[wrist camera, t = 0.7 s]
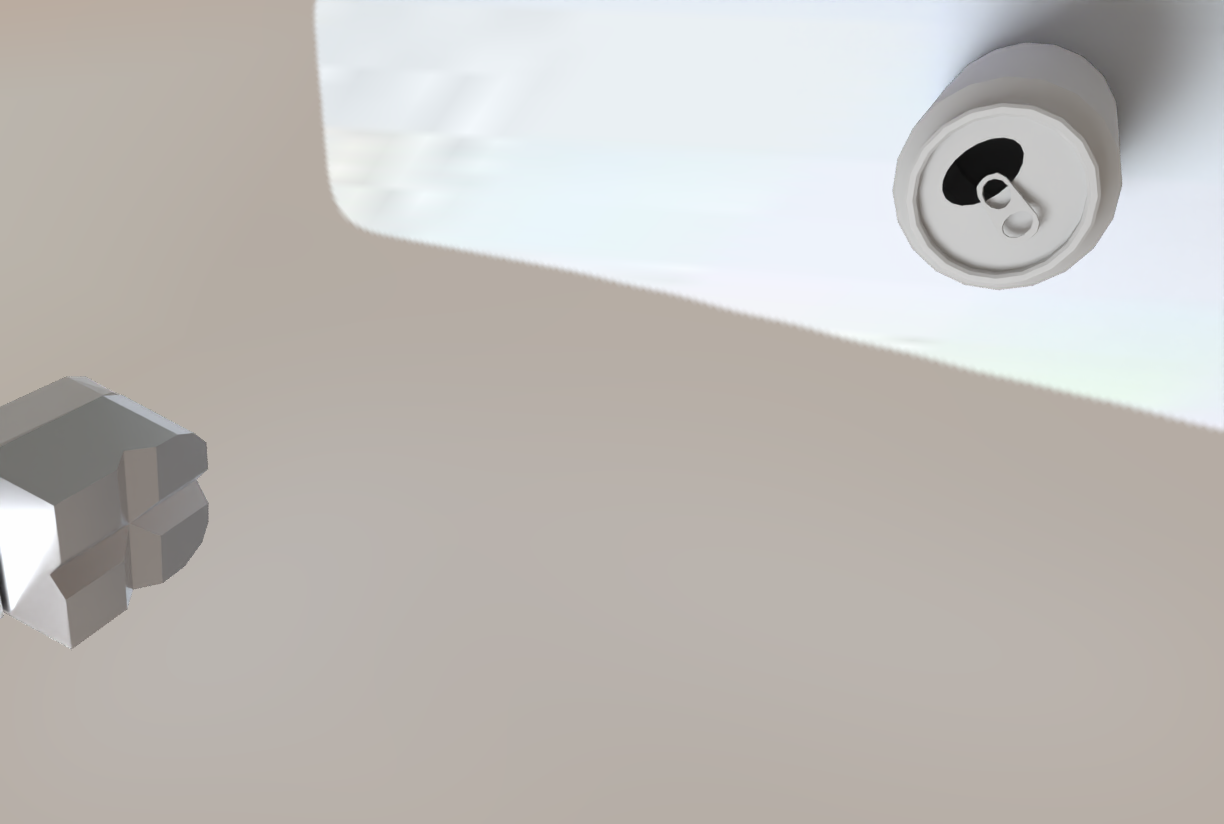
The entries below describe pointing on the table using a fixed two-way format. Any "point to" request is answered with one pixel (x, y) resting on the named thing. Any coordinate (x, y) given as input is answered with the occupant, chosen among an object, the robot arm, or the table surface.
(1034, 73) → the can
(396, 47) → the table surface
